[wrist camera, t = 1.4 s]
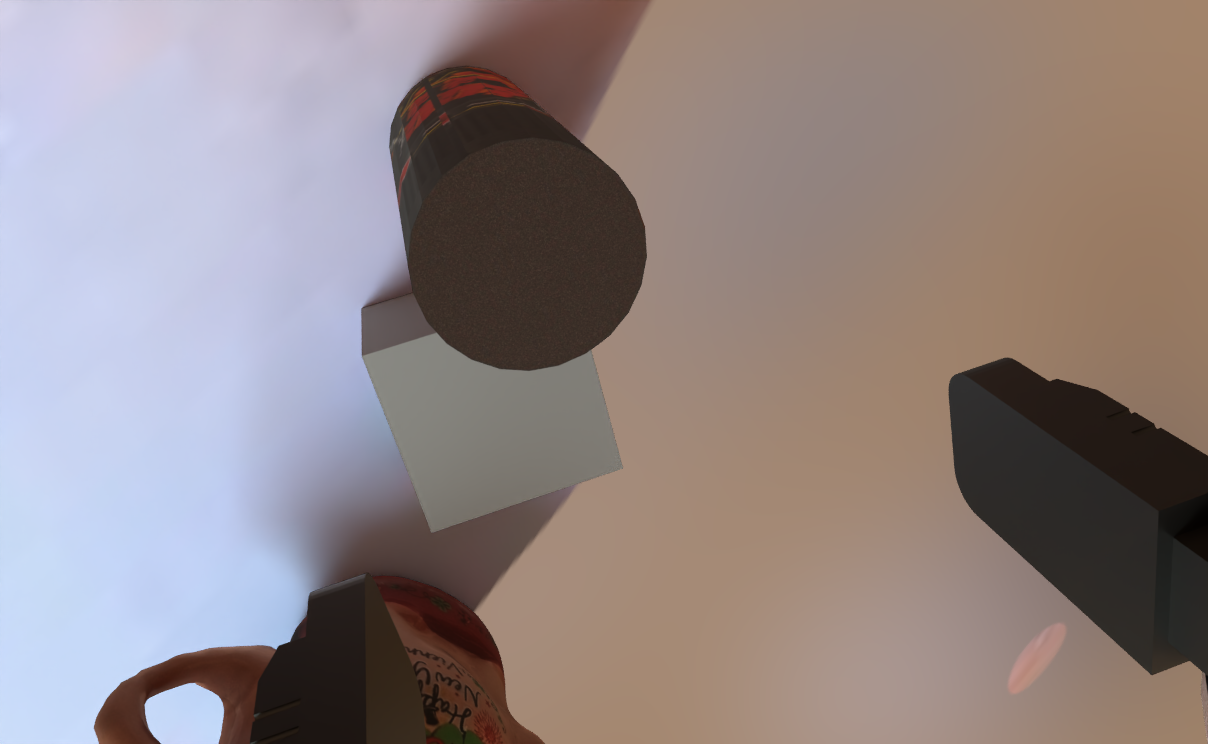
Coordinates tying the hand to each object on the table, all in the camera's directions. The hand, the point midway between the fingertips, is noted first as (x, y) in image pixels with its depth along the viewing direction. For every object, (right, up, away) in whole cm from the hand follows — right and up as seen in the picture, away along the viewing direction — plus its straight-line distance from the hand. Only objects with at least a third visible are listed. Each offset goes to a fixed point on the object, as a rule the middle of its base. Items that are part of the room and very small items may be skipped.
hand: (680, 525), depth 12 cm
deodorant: (-6, +11, +24) cm, 27 cm away
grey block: (-6, +2, +28) cm, 29 cm away
